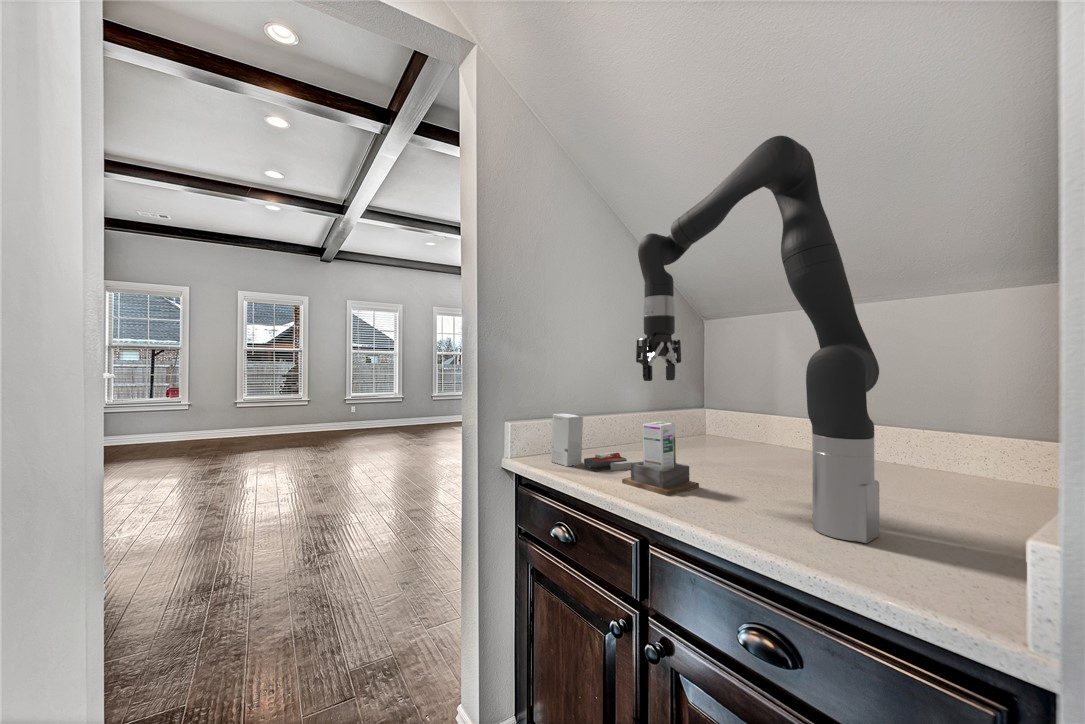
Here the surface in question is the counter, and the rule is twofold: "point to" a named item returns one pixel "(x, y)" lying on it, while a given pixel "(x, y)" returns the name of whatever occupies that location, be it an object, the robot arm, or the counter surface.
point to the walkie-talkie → (607, 462)
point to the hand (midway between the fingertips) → (659, 380)
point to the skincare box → (566, 439)
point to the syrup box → (659, 445)
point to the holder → (660, 479)
